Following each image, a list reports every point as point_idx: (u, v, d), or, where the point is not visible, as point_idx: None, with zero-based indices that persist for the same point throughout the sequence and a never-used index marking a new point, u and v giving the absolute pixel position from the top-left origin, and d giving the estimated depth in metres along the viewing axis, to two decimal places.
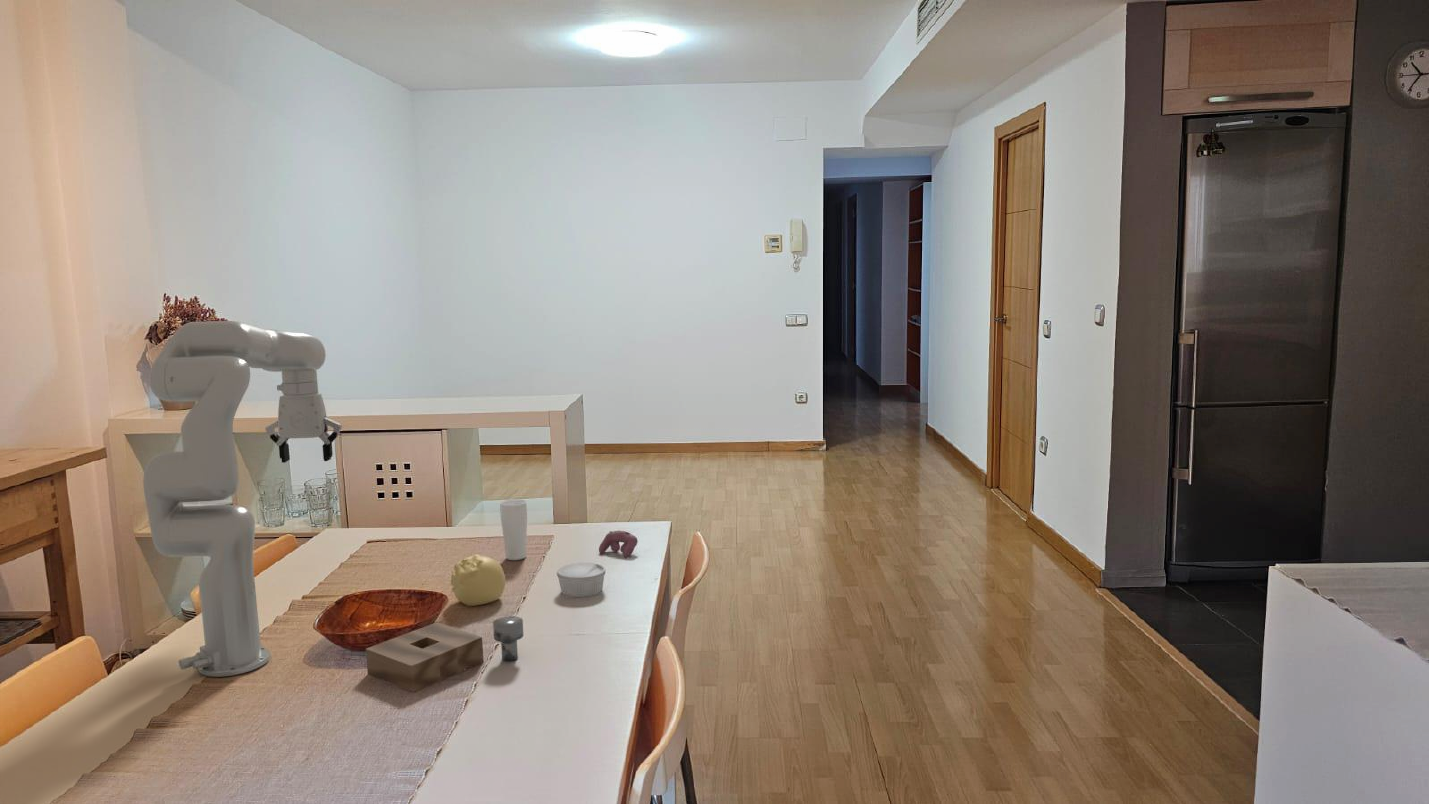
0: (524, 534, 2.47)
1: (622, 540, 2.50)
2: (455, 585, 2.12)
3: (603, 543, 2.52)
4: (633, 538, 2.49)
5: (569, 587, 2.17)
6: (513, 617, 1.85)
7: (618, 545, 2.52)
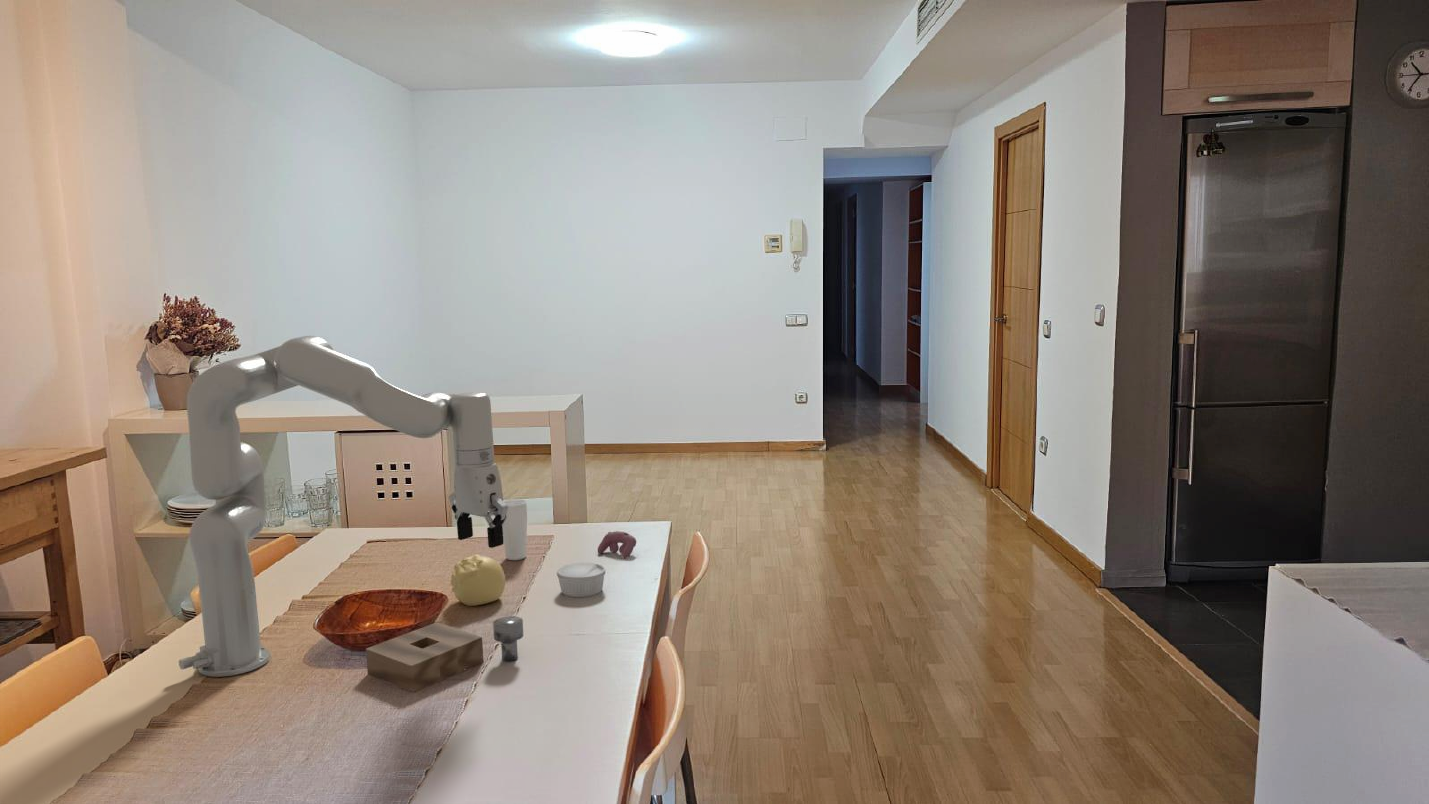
0: (524, 534, 2.47)
1: (621, 541, 2.50)
2: (455, 585, 2.12)
3: (602, 544, 2.51)
4: (632, 539, 2.49)
5: (569, 587, 2.17)
6: (513, 617, 1.85)
7: (617, 546, 2.52)
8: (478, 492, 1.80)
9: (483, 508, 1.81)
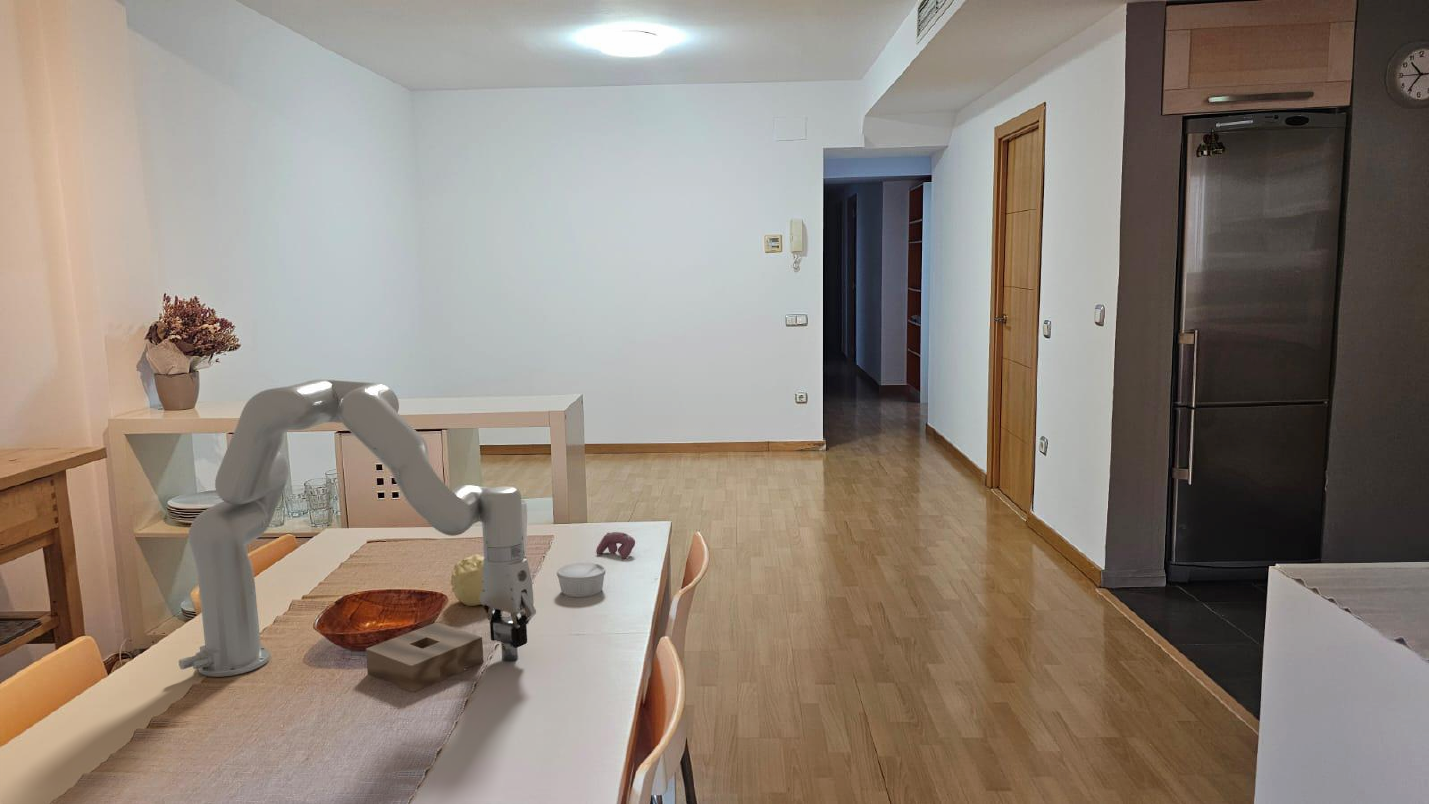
0: (524, 534, 2.47)
1: (620, 541, 2.49)
2: (455, 585, 2.12)
3: (600, 544, 2.50)
4: (631, 539, 2.48)
5: (569, 587, 2.17)
6: None
7: (615, 546, 2.51)
8: (509, 589, 1.78)
9: (514, 605, 1.78)
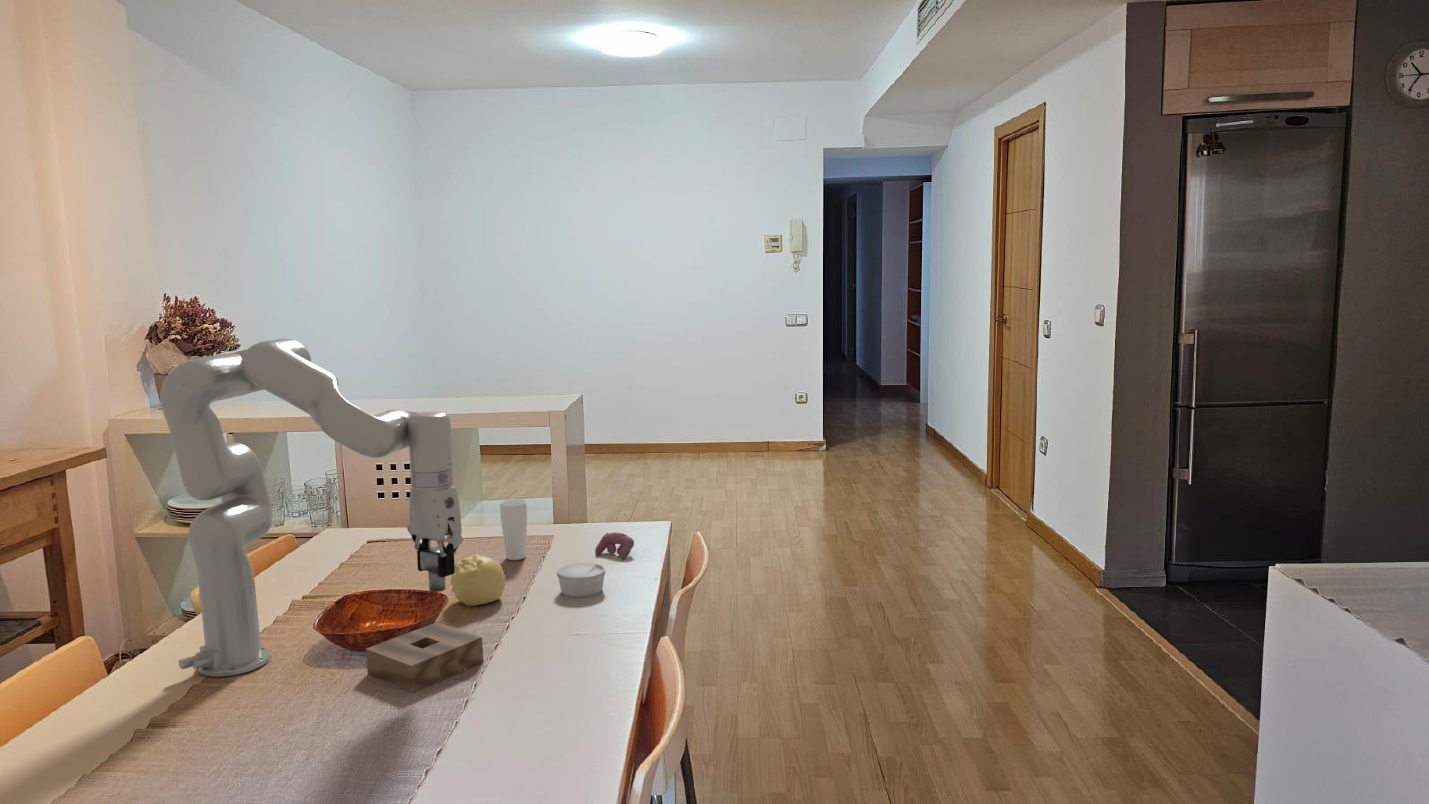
0: (524, 534, 2.47)
1: (618, 542, 2.49)
2: (455, 585, 2.12)
3: (599, 545, 2.50)
4: (630, 540, 2.48)
5: (569, 587, 2.17)
6: None
7: (614, 547, 2.51)
8: (435, 516, 1.73)
9: (440, 533, 1.74)
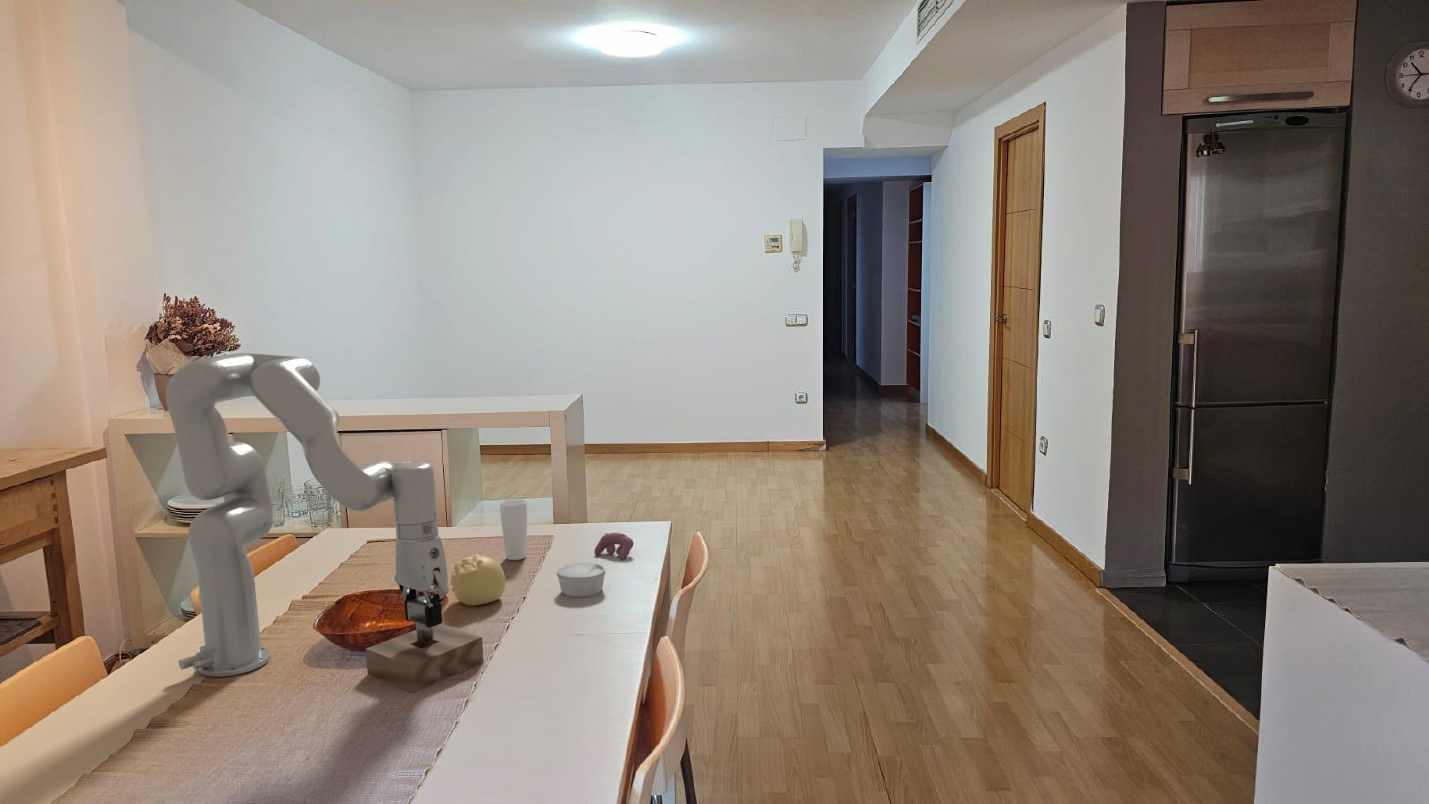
0: (524, 534, 2.47)
1: (618, 542, 2.48)
2: (455, 585, 2.12)
3: (599, 545, 2.50)
4: (629, 540, 2.48)
5: (569, 587, 2.17)
6: None
7: (614, 547, 2.50)
8: (421, 567, 1.74)
9: (426, 584, 1.74)
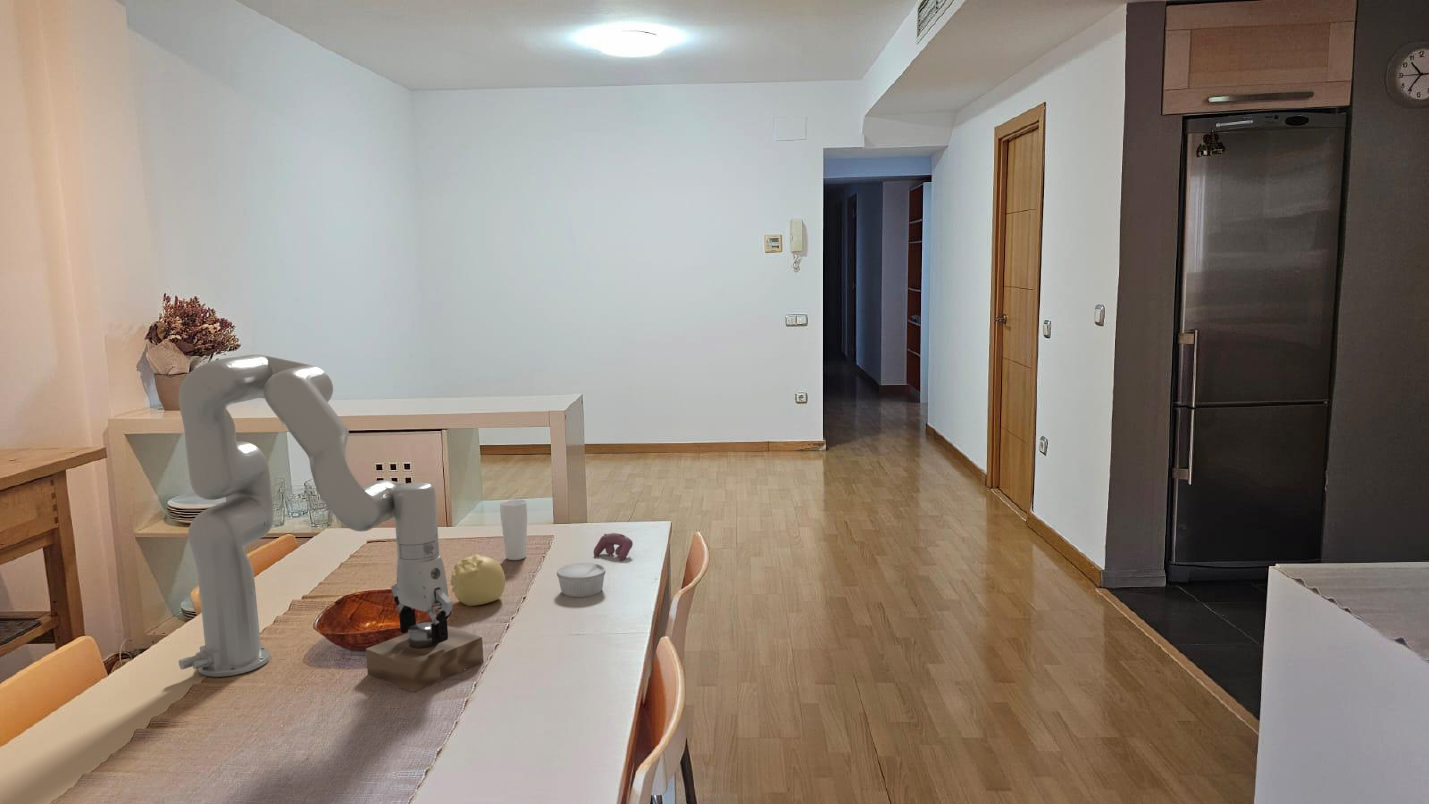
0: (524, 534, 2.47)
1: (617, 543, 2.48)
2: (455, 585, 2.12)
3: (598, 546, 2.49)
4: (628, 541, 2.47)
5: (569, 587, 2.17)
6: (430, 623, 1.82)
7: (613, 548, 2.50)
8: (422, 587, 1.74)
9: (427, 604, 1.75)
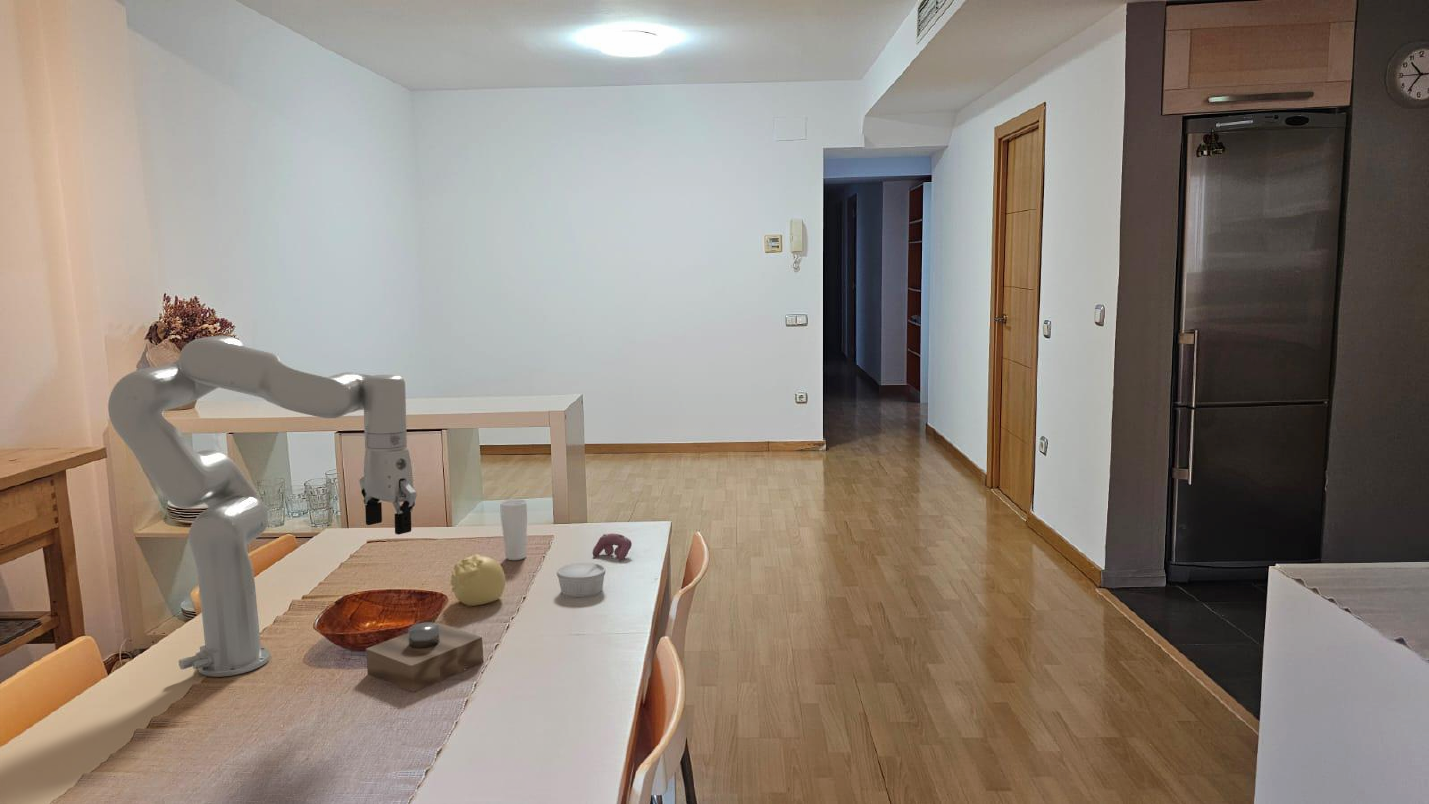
0: (524, 534, 2.47)
1: (616, 543, 2.48)
2: (455, 585, 2.12)
3: (597, 546, 2.49)
4: (627, 541, 2.47)
5: (569, 587, 2.17)
6: (430, 623, 1.82)
7: (612, 548, 2.50)
8: (387, 477, 1.76)
9: (391, 493, 1.76)
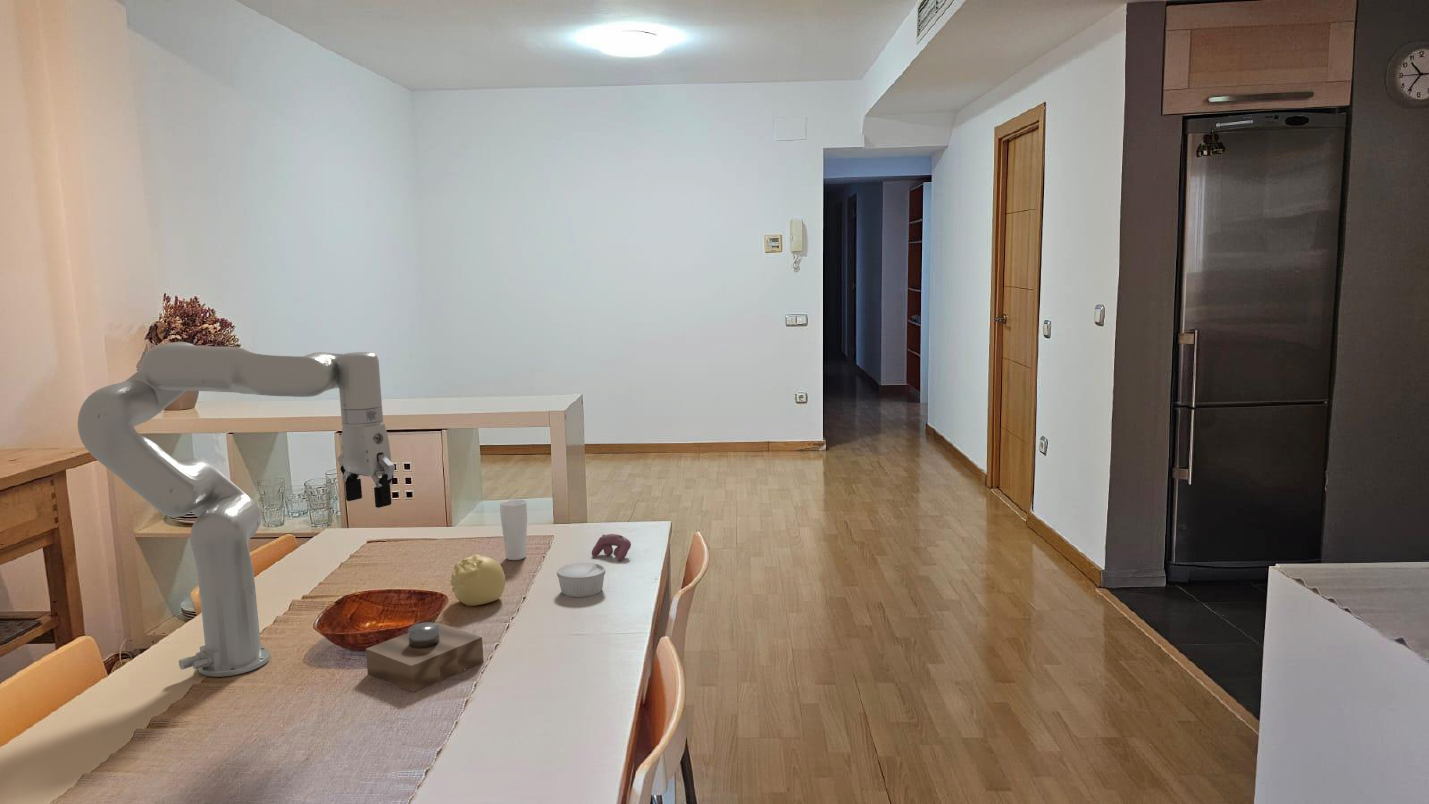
0: (524, 534, 2.47)
1: (615, 543, 2.47)
2: (455, 585, 2.12)
3: (596, 547, 2.49)
4: (626, 541, 2.47)
5: (569, 587, 2.17)
6: (430, 623, 1.82)
7: (611, 549, 2.49)
8: (365, 451, 1.80)
9: (370, 467, 1.80)
